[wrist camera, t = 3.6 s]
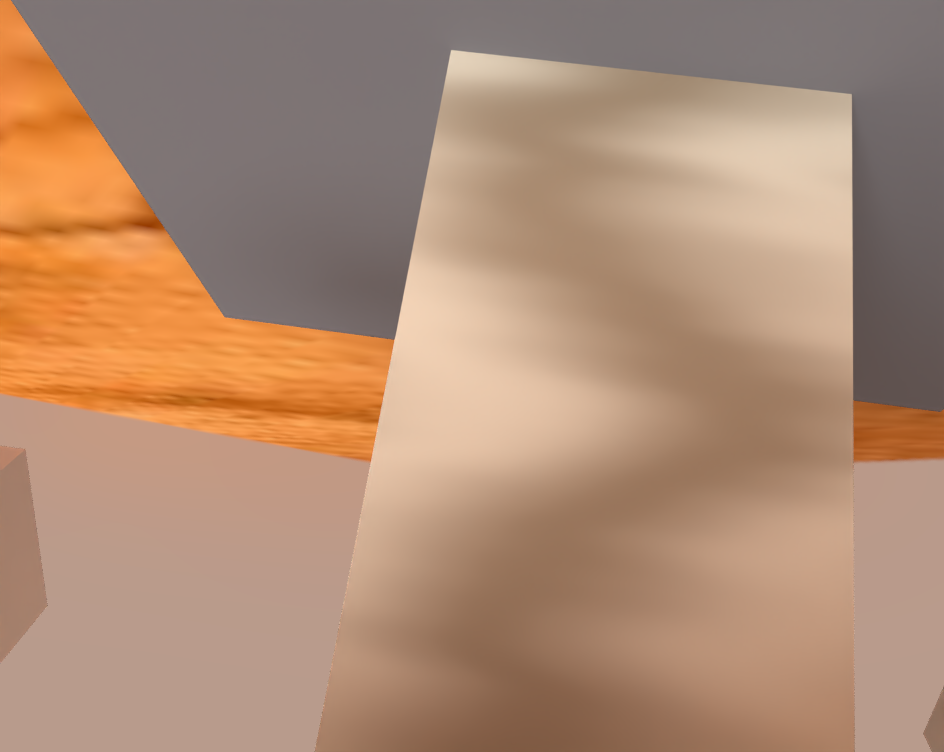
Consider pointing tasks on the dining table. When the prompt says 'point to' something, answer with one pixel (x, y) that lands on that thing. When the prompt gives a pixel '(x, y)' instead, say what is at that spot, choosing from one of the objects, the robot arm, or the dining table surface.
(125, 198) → the dining table surface
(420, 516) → the block
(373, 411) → the dining table surface
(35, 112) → the dining table surface
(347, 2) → the mat
